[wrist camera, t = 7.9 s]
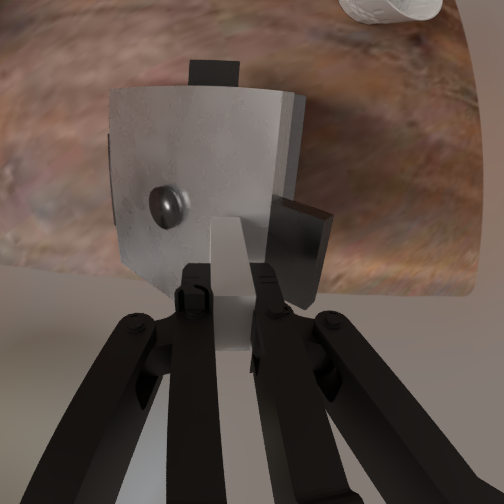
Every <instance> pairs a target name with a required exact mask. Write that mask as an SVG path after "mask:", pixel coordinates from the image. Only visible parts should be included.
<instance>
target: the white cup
mask: <svg viewBox="0 0 504 504" xmlns="http://www.w3.org/2000/svg"><path fill="white" fill-rule="evenodd" d="M442 2H443V0H339V4H340V5H341V7H342V8H343V10H344V11H345V13H346V14H347V15H349V16H350V17H351V18H353V19H354V20H355V21H357V22H360V23H364V24H367V25H371V24H377V23H383V24H386V23H400V22H408V21H421V20H429V19H431V18H433V17H435V16H436V15H437V14H438V13H439V11H440V9H441V7H442Z"/></svg>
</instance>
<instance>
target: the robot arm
mask: <svg viewBox="0 0 504 504" xmlns="http://www.w3.org/2000/svg"><path fill="white" fill-rule="evenodd" d="M174 298H175V310H176V312H175V313H174V314H173V315H171V316H169V317H167V318H164V319H161V320H156V321H154V319H153V318H151V317H150V316H149V315H147V314H144V313H133V314H129V315H127V316H125V317H123V318H122V319H121V320H120V321H119V323H118V324H117V326H116V327H115V329H114V331H113V332H112V334H111V335H110V337H109V338H108V340H107V342H106V343H105V345H104V346H103V348H102V350H101V351H100V353H99V355H98V356H97V358H96V360H95V361H94V363H93V365H92V366H91V368H90V370H89V371H88V373H87V375H86V377H85V378H84V380H83V382H82V383H81V385H80V387H79V388H78V390H77V392H76V394H75V395H74V397H73V399H72V401H71V403H70V404H69V406H68V408H67V410H66V412H65V413H64V415H63V417H62V419H61V421H60V423H59V425H58V426H57V428H56V430H55V432H54V434H53V436H52V438H51V440H50V442H49V444H48V445H47V447H46V450H45V451H44V453H43V455H42V457H41V459H40V461H39V463H38V465H37V467H36V469H35V471H34V474H33V476H32V478H31V480H30V482H29V484H28V486H27V489H26V491H25V493H24V495H23V497H22V500H21V502H20V504H115V502H116V499H117V496H118V494H119V491H120V488H121V485H122V483H123V480H124V477H125V474H126V472H127V469H128V466H129V464H130V461H131V458H132V456H133V453H134V450H135V448H136V445H137V442H138V439H139V437H140V434H141V432H142V429H143V426H144V424H145V421H146V419H147V416H148V413H149V411H150V409H151V406H152V404H153V401H154V399H155V396H156V394H157V391H158V388H159V386H160V384H161V381H162V378H163V375H165V374H169V373H170V388H169V405H168V426H167V463H166V469H167V470H166V504H227V499H226V489H225V479H224V469H223V458H222V446H221V434H220V420H219V407H218V392H217V376H216V359H215V351H246V350H250V345H251V347H252V358H251V366H250V373H253V376H254V382H255V388H256V395H257V401H258V407H259V414H260V420H261V426H262V432H263V438H264V444H265V450H266V456H267V462H268V468H269V474H270V480H271V485H272V491H273V497H274V502H275V504H364V502H363V500H362V498H361V497H360V495H359V494H358V493H356V492H354V491H352V490H351V489H350V487H349V485H348V482H347V479H346V475H345V472H344V468H343V465H342V462H341V459H340V455H339V452H338V449H337V446H336V442H335V439H334V436H333V433H332V430H331V426H330V423H329V420H328V417H327V414H326V411H327V413H328V414H329V416H330V417H331V419H332V420H333V422H334V424H335V425H336V427H337V428H338V430H339V431H340V433H341V434H342V436H343V438H344V439H345V441H346V442H347V444H348V445H349V447H350V449H351V450H352V452H353V453H354V455H355V456H356V458H357V459H358V461H359V462H360V464H361V465H362V467H363V468H364V470H365V472H366V473H367V475H368V476H369V478H370V479H371V481H372V482H373V484H374V485H375V487H376V488H377V490H378V491H379V493H380V494H381V496H382V497H383V499H384V501H385V502H386V504H504V493H503V492H501V491H499V490H497V489H496V488H494V487H493V486H491V485H489V484H488V483H486V482H485V481H483V480H481V479H480V478H478V477H477V476H476V474H475V473H474V472H473V470H472V469H471V468H470V467H469V465H468V464H467V463H466V461H465V460H464V459H463V458H462V456H461V455H460V454H459V453H458V451H457V450H456V449H455V447H454V446H453V445H452V444H451V443H450V441H449V440H448V439H447V437H446V436H445V435H444V434H443V432H442V431H441V430H440V429H439V427H438V426H437V425H436V424H435V422H434V421H433V420H432V419H431V417H430V416H429V415H428V414H427V412H426V411H425V410H424V409H423V408H422V406H421V405H420V404H419V403H418V402H417V400H416V399H415V398H414V397H413V395H412V394H411V393H410V392H409V391H408V389H407V388H406V387H405V386H404V384H403V383H402V382H401V381H400V380H399V378H398V377H397V376H396V375H395V374H394V372H393V371H392V370H391V369H390V368H389V366H388V365H387V364H386V363H385V362H384V361H383V359H382V358H381V357H380V356H379V355H378V353H377V352H376V351H375V350H374V349H373V347H372V346H371V345H370V344H369V343H368V342H367V340H366V339H365V338H364V337H363V336H362V335H361V333H360V332H359V331H358V330H357V329H356V328H355V326H354V325H353V324H352V323H351V322H350V321H349V320H348V318H347V317H345V316H344V315H343V314H341V313H338V312H336V311H323V312H320V313H318V315H317V316H316V317H315V319H311V318H306V317H302V316H298V315H296V314H294V312H293V310H292V309H291V307H290V306H288V305H287V304H286V303H285V302H284V299H283V295H282V292H281V289H280V286H279V283H278V280H277V278H276V274H275V270H274V269H273V268H272V267H271V266H270V265H269V264H268V263H249V260H248V255H247V250H246V245H245V241H244V236H243V231H242V226H241V221H240V217H211V220H210V263H188V264H187V265H186V266H185V267H184V268H183V270H182V278H181V286H179V287H178V288H177V289H176V291H175V293H174ZM325 409H326V410H325Z"/></svg>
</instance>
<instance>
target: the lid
mask: <svg viewBox="0 0 504 504" xmlns="http://www.w3.org/2000/svg"><path fill="white" fill-rule="evenodd" d="M294 93H295V92H287V91H278V90H268V89H256V88H243V87H225V86H147V87H130V88H117V89H109V134H108V156H109V173H110V186H111V198H112V208H113V217H114V225H115V226H116V229H117V237H118V245H119V252H120V259H121V263H123V264H124V265H125V266H127V267H128V268H129V269H131V270H132V271H133V272H135V273H136V274H137V275H139V276H140V277H142V278H143V279H144V280H146V281H147V282H148V283H150V284H151V285H153V286H154V287H156V288H157V289H158V290H160V291H161V292H162V293H164V294H166V295H167V296H168V297H170V298H171V299H173V300H174V301H175V298H174V293H175V291H176V289H177V288H178V287H179V286H181V278H182V270H183V268H184V267H185V266H186V265H187V264H188V263H210V220H211V217H240V221H241V226H242V231H243V236H244V241H245V245H246V250H247V255H248V260H249V263H268V264H269V265H270V266H271V267H272V268H273V269H274V270H275V274H276V278H277V280H278V283H279V286H280V289H281V292H282V295H283V299H284V300H285V301H287V302H289V303H292V304H293V305H295V306H297V307H299V308H301V309H303V310H306V309H307V308H308V307H309V306H310V305H311V304H312V303H313V302H314V301H315V297H316V293H317V289H318V285H319V281H320V276H321V272H322V268H323V263H324V259H325V254H326V250H327V245H328V240H329V235H330V231H331V226H332V221H333V216H334V215H333V214H330V213H327V212H325V211H322V210H319V209H316V208H313V207H310V206H307V205H304V204H302V203H299V202H296V201H293V200H290V199H287V198H284V197H283V190H284V182H285V174H286V165H287V157H288V148H289V139H290V130H291V121H292V112H293V102H294ZM250 350H251V351H252V347H251V345H250Z"/></svg>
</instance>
